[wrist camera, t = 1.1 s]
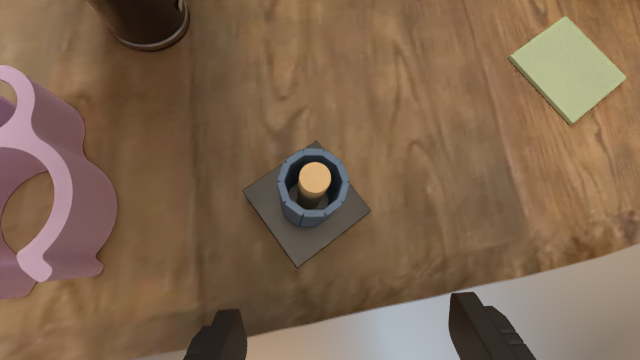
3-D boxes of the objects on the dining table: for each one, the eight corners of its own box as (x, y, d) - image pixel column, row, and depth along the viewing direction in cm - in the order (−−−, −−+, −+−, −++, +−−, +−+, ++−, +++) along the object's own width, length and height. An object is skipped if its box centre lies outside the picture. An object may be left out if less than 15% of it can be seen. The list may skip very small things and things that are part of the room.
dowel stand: (243, 193, 34) (220, 161, 22) (315, 144, 36) (327, 93, 25) (296, 267, 33) (300, 275, 21) (368, 212, 35) (407, 192, 23)
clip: (-23, 118, 33) (-102, 83, 26) (100, 93, 35) (55, 55, 28) (-10, 305, 29) (-99, 321, 23) (127, 266, 31) (83, 270, 24)
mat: (507, 58, 42) (510, 55, 41) (562, 18, 44) (565, 15, 44) (569, 125, 40) (573, 123, 40) (622, 80, 43) (627, 77, 42)
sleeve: (270, 195, 33) (263, 174, 24) (313, 165, 34) (321, 135, 25) (301, 238, 32) (305, 232, 23) (344, 206, 33) (363, 188, 25)
